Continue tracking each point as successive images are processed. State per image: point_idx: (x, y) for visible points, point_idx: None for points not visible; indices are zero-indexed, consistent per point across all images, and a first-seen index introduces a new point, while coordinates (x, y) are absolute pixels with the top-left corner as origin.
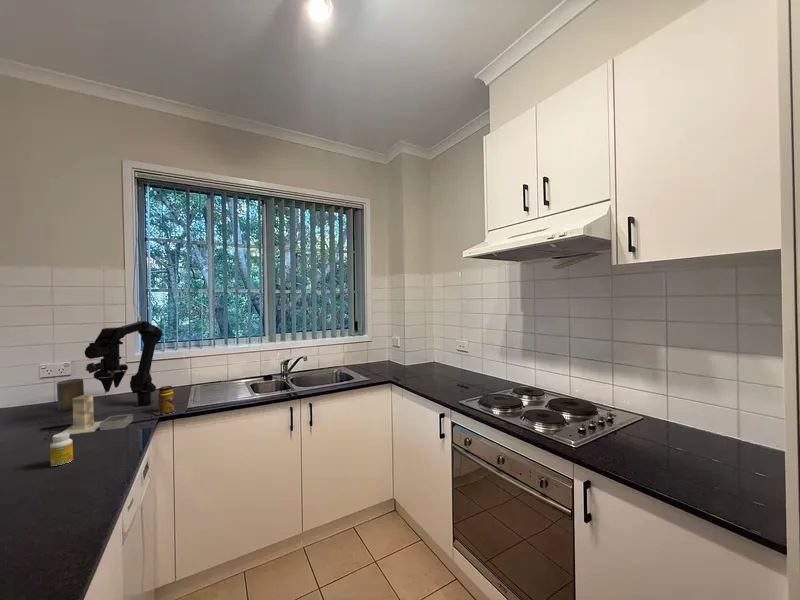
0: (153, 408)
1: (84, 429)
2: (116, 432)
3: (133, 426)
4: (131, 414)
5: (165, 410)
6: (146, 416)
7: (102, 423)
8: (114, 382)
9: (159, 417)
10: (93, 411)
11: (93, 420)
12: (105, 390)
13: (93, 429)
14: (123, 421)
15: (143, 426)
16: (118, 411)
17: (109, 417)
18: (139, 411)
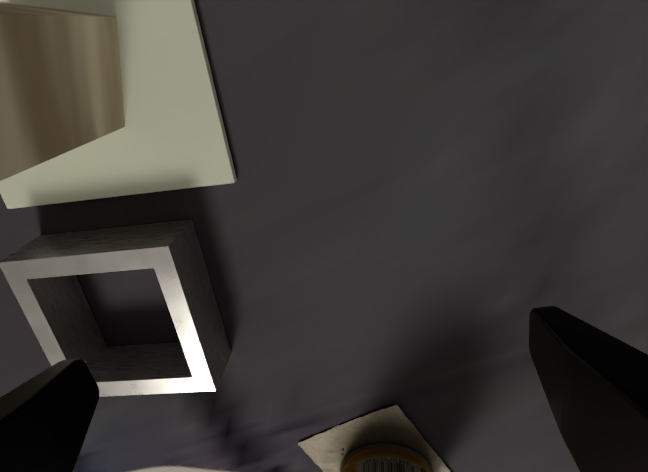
0: (520, 373)
1: None
2: (21, 352)
3: (121, 397)
4: (203, 387)
5: None
6: (312, 396)
7: (9, 278)
8: (601, 398)
9: (272, 467)
10: (38, 163)
11: (95, 136)
12: (33, 387)
13: (33, 188)
14: None
15: (120, 443)
16: (559, 100)
17: (137, 261)
18: (469, 303)
